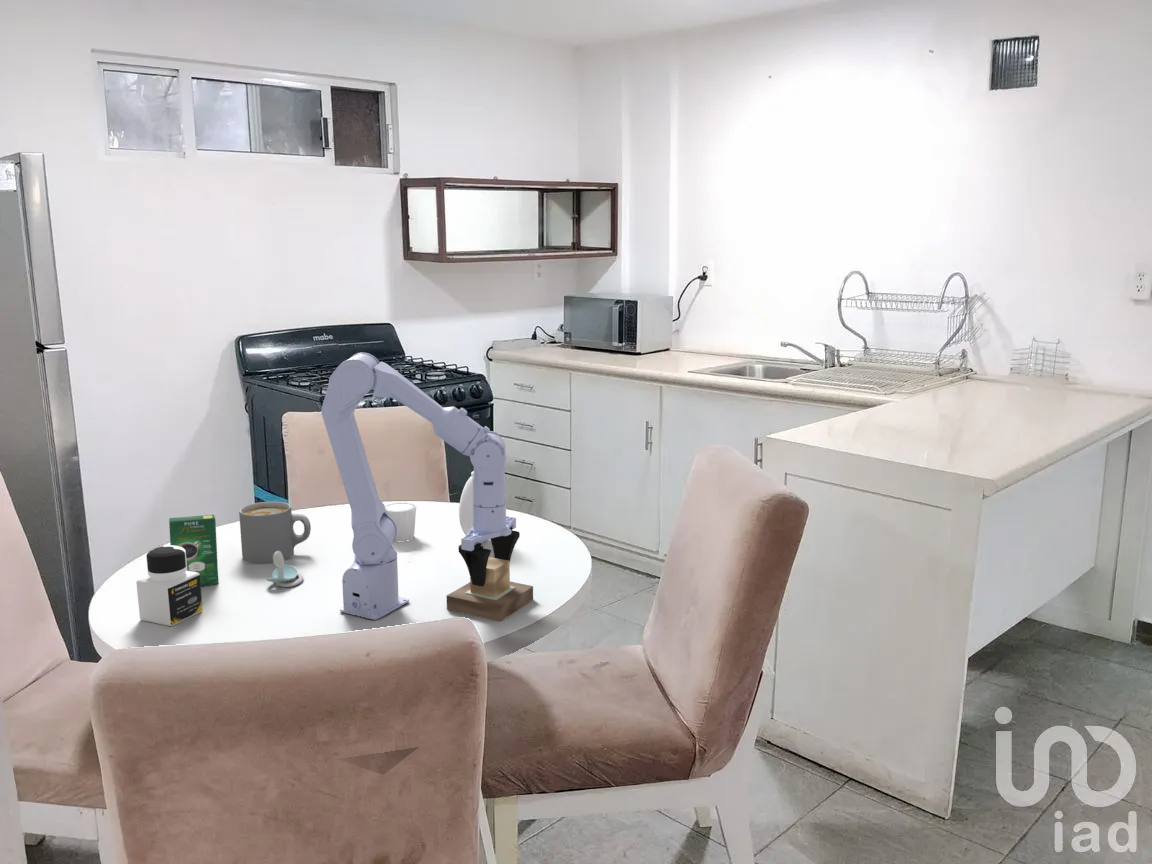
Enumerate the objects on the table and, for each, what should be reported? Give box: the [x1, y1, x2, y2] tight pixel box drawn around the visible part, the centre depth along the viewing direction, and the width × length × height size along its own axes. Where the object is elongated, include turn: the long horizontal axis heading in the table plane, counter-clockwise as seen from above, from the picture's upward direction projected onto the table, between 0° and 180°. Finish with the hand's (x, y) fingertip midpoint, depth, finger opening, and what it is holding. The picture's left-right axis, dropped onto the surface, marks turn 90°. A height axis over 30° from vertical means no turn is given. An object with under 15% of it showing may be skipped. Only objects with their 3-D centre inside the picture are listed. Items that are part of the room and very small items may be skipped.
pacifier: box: [266, 551, 304, 588], centre depth 170 cm, size 7×6×6 cm
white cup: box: [384, 502, 417, 542], centre depth 196 cm, size 7×7×7 cm
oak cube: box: [469, 556, 511, 597], centre depth 160 cm, size 5×5×5 cm
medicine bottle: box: [135, 544, 203, 627], centre depth 154 cm, size 7×7×12 cm
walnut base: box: [446, 581, 534, 622], centre depth 160 cm, size 11×11×3 cm
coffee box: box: [168, 514, 220, 587], centre depth 168 cm, size 8×3×13 cm, turn 113°
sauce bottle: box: [458, 470, 474, 536], centre depth 193 cm, size 8×8×18 cm
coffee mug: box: [238, 501, 312, 565], centre depth 184 cm, size 13×10×10 cm
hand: (490, 577), depth 160 cm, fingers open, 7 cm apart
